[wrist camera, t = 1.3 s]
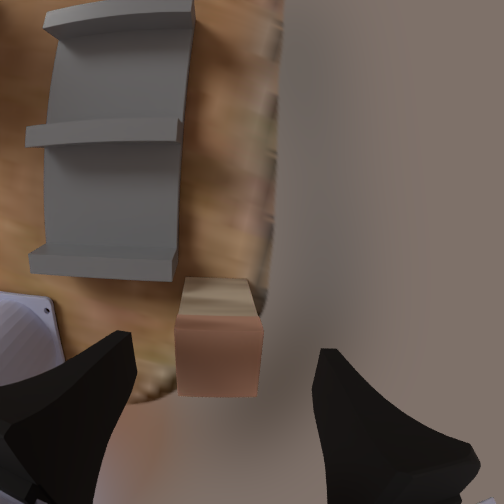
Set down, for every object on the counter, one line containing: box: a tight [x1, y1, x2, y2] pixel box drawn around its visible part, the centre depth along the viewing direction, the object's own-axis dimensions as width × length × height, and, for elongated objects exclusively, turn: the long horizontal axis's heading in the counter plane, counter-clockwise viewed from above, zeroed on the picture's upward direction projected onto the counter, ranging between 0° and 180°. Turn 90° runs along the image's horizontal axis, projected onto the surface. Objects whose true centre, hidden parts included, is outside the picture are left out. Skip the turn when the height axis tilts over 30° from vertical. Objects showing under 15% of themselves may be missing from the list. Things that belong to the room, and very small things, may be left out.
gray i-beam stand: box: [25, 0, 196, 282], centre depth 16 cm, size 16×9×4 cm, turn 176°
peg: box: [174, 277, 264, 397], centre depth 18 cm, size 4×4×7 cm
